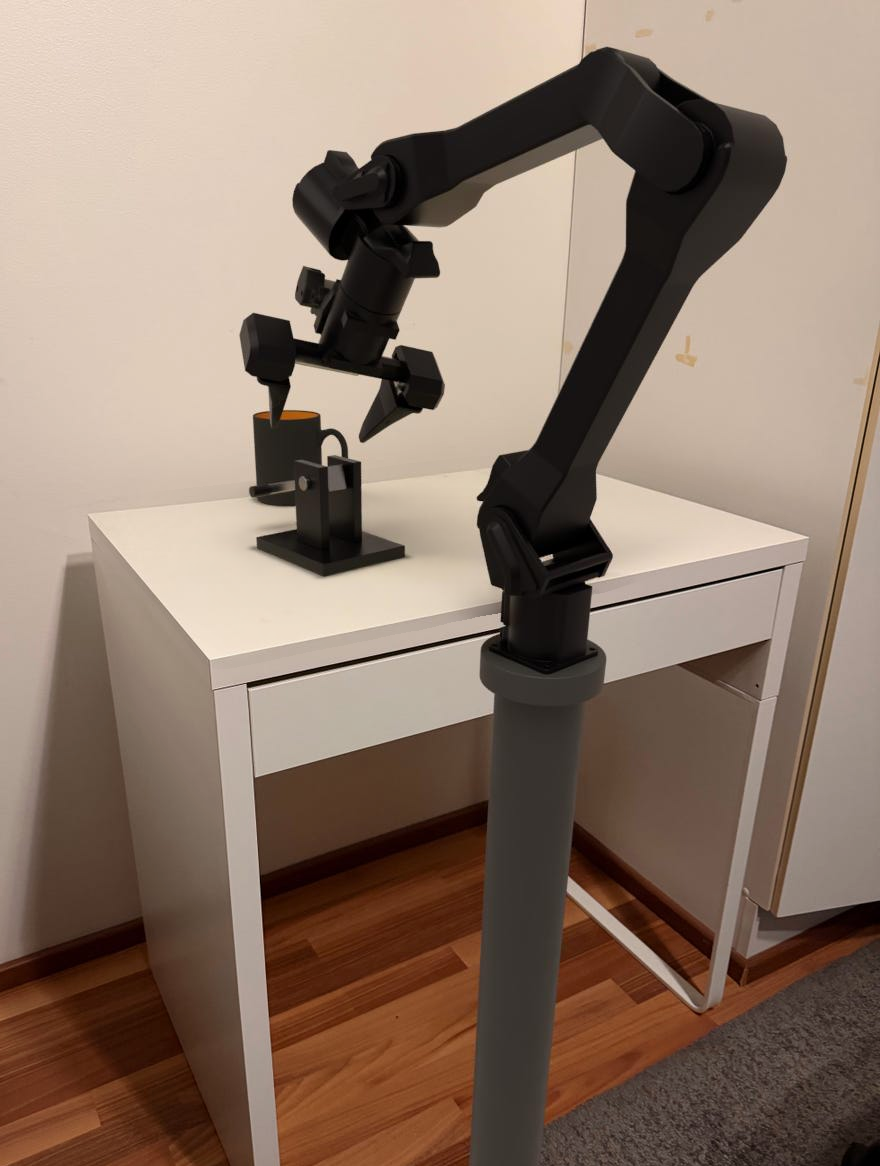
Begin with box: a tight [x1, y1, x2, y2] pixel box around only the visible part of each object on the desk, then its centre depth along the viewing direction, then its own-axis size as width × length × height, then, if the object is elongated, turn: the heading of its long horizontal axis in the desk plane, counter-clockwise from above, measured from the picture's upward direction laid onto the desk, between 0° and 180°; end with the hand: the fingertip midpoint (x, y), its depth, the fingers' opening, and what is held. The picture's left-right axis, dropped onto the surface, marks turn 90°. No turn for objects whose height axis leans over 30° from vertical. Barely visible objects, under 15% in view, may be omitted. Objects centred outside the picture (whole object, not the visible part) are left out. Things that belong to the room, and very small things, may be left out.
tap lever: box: [248, 465, 347, 498], centre depth 90 cm, size 13×5×2 cm, turn 40°
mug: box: [252, 409, 349, 507], centre depth 108 cm, size 8×12×10 cm
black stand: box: [255, 454, 406, 577], centre depth 87 cm, size 12×10×9 cm
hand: (317, 432), depth 86 cm, fingers open, 9 cm apart
